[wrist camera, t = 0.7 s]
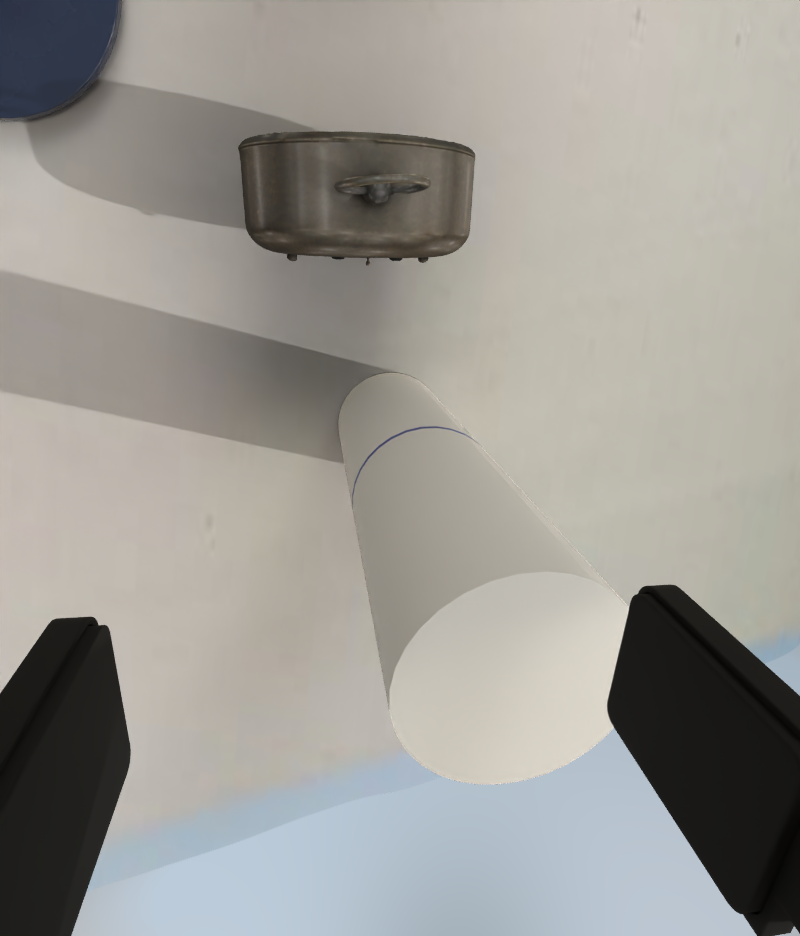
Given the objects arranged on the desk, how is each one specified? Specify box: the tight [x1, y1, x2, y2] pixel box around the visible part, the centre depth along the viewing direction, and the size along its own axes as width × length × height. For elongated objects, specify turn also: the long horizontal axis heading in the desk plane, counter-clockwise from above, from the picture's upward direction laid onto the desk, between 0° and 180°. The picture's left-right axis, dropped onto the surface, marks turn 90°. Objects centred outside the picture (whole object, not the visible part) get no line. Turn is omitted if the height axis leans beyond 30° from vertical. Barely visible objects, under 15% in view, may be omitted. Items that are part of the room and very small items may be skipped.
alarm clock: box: [238, 132, 475, 265], centre depth 25 cm, size 11×5×16 cm, turn 89°
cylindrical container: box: [338, 373, 629, 785], centre depth 26 cm, size 7×7×25 cm
